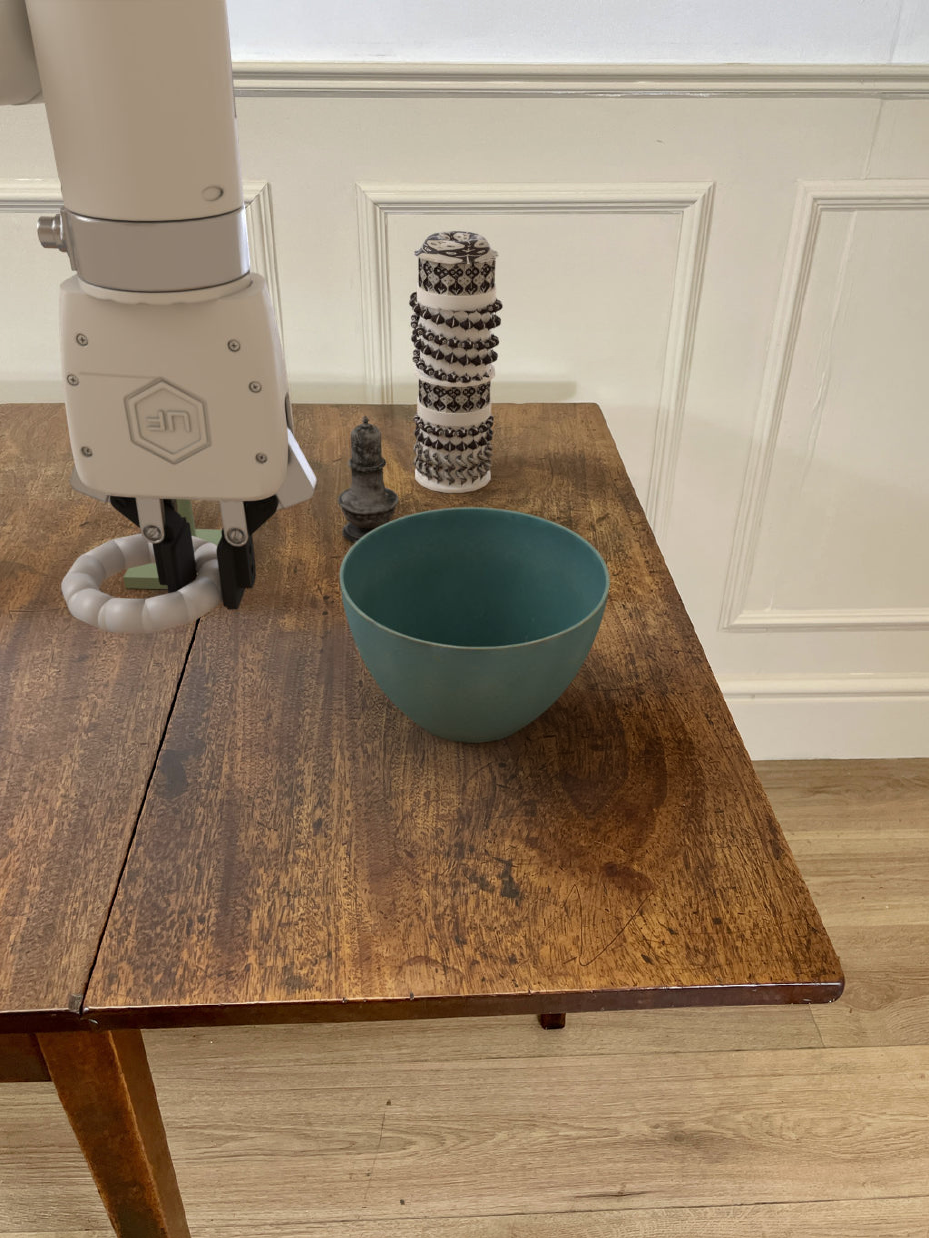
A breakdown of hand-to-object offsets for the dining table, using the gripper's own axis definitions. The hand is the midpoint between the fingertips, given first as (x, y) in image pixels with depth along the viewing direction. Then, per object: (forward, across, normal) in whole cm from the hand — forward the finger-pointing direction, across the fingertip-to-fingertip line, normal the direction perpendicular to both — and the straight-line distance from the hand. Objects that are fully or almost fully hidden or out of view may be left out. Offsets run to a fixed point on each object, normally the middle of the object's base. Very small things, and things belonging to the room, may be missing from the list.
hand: (210, 592), depth 52 cm
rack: (+17, -11, +30) cm, 37 cm away
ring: (-1, -3, 0) cm, 3 cm away
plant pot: (+17, +15, +11) cm, 25 cm away
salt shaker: (+17, +5, +38) cm, 42 cm away
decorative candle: (+17, +13, +51) cm, 55 cm away
